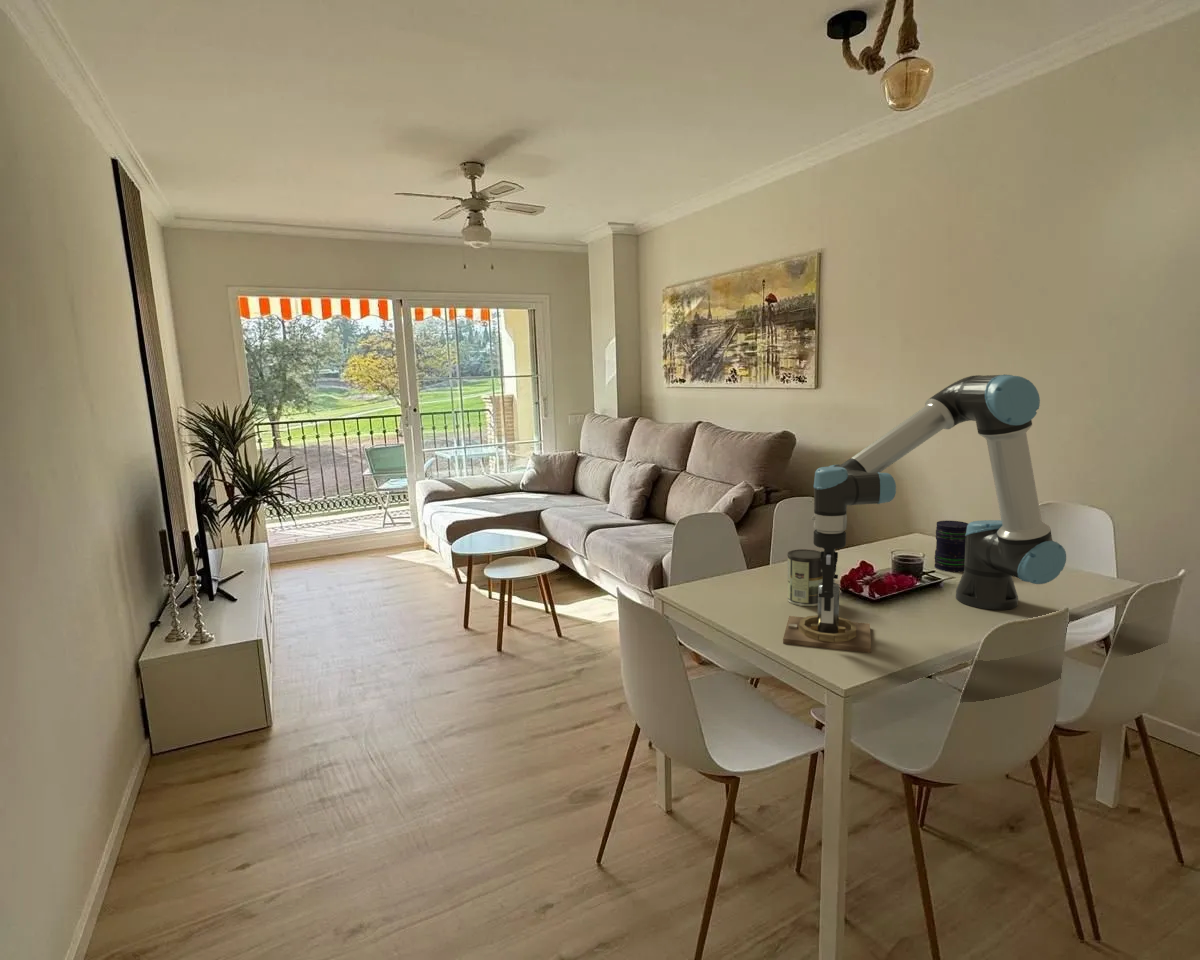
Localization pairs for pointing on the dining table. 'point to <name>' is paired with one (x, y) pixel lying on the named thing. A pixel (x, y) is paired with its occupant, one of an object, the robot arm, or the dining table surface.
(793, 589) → the coffee can
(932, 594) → the dining table surface
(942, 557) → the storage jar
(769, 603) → the dining table surface
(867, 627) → the board
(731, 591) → the dining table surface
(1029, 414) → the robot arm
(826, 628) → the grey rounded cylinder
